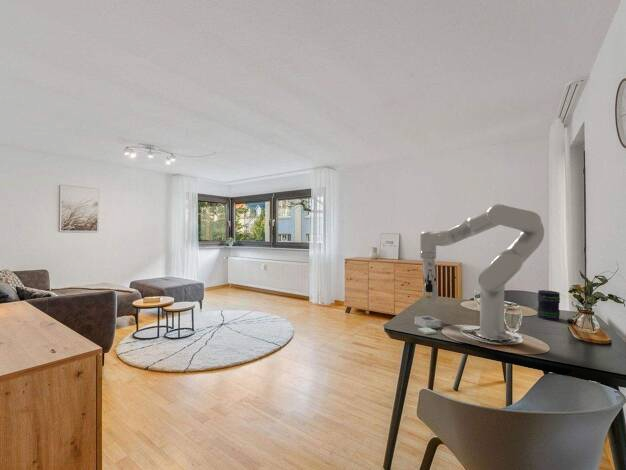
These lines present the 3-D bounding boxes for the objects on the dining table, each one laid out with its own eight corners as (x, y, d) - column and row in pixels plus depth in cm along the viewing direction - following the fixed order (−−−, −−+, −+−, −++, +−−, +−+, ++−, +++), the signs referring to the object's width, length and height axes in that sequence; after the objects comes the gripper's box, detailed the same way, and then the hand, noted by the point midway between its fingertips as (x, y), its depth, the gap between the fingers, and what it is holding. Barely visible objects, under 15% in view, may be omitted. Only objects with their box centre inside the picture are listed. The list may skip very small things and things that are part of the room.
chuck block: (440, 327, 153) (440, 320, 153) (425, 328, 150) (425, 321, 150) (424, 320, 164) (424, 314, 164) (410, 321, 161) (410, 315, 161)
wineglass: (439, 321, 163) (440, 282, 163) (425, 320, 163) (425, 282, 163) (434, 317, 171) (434, 280, 171) (420, 317, 171) (421, 280, 171)
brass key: (431, 296, 157) (431, 277, 157) (432, 298, 153) (432, 278, 153) (424, 296, 157) (424, 277, 157) (425, 297, 154) (425, 278, 154)
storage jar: (541, 319, 167) (542, 293, 167) (534, 315, 177) (534, 289, 177) (563, 321, 165) (563, 294, 164) (554, 316, 174) (555, 290, 174)
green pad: (436, 333, 144) (436, 331, 144) (426, 334, 142) (426, 332, 142) (428, 329, 149) (428, 327, 149) (417, 330, 147) (417, 328, 147)
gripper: (439, 256, 146) (439, 294, 146) (433, 254, 163) (433, 288, 163) (423, 256, 148) (423, 294, 148) (418, 254, 164) (418, 288, 164)
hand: (428, 290), depth 155 cm, fingers closed on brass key, 3 cm apart
